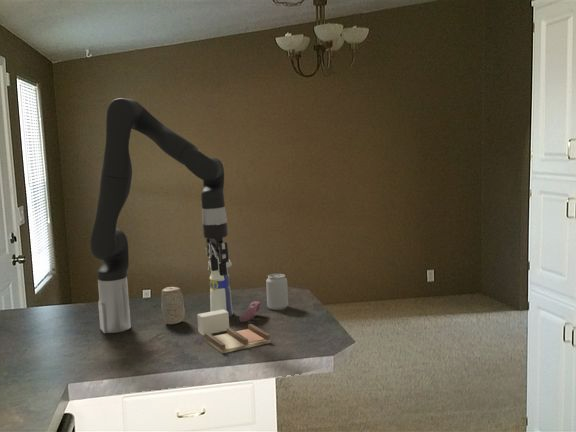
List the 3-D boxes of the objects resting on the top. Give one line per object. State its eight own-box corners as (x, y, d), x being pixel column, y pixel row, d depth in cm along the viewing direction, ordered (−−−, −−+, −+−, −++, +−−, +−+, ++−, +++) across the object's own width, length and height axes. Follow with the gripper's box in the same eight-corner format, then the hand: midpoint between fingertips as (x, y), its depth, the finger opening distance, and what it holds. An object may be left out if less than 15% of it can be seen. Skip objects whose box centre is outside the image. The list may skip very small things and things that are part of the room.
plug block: (202, 335, 184) (201, 317, 184) (198, 332, 188) (197, 314, 187) (229, 330, 189) (228, 312, 188) (224, 327, 192) (223, 309, 191)
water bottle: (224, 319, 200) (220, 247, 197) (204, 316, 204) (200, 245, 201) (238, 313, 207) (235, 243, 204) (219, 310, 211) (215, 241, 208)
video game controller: (250, 327, 196) (258, 309, 194) (237, 321, 196) (246, 303, 195) (257, 318, 205) (265, 301, 204) (245, 312, 206) (253, 295, 204)
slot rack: (221, 353, 168) (221, 345, 167) (205, 340, 179) (204, 333, 179) (270, 342, 175) (270, 334, 175) (251, 331, 186) (251, 323, 186)
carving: (161, 321, 200) (159, 287, 199) (183, 318, 203) (181, 284, 201) (163, 327, 194) (161, 291, 193) (186, 324, 197) (184, 289, 195)
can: (265, 306, 214) (263, 274, 213) (284, 303, 216) (283, 271, 215) (270, 311, 207) (269, 278, 205) (290, 309, 209) (289, 276, 208)
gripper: (196, 221, 188) (201, 270, 190) (209, 225, 175) (214, 278, 178) (219, 218, 191) (223, 267, 193) (233, 222, 179) (237, 275, 181)
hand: (219, 272), depth 185 cm, fingers open, 8 cm apart
